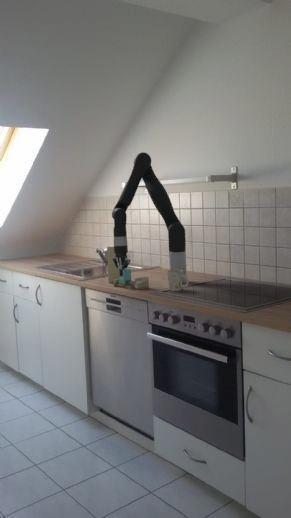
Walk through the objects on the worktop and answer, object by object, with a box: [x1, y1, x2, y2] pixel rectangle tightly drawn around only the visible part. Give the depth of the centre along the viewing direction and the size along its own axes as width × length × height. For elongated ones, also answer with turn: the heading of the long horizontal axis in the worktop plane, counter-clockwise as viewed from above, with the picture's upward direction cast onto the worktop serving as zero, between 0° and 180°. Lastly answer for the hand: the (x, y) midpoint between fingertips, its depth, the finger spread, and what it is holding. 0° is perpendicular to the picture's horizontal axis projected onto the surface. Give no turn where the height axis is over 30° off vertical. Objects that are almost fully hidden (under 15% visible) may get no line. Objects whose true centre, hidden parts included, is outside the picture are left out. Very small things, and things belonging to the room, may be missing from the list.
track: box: [113, 276, 150, 291], centre depth 277 cm, size 20×8×6 cm, turn 42°
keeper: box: [118, 268, 132, 284], centre depth 280 cm, size 5×5×8 cm
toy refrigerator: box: [106, 245, 123, 284], centre depth 295 cm, size 8×7×21 cm
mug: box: [166, 269, 190, 292], centre depth 261 cm, size 8×13×10 cm, turn 51°
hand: (122, 275), depth 282 cm, fingers closed
